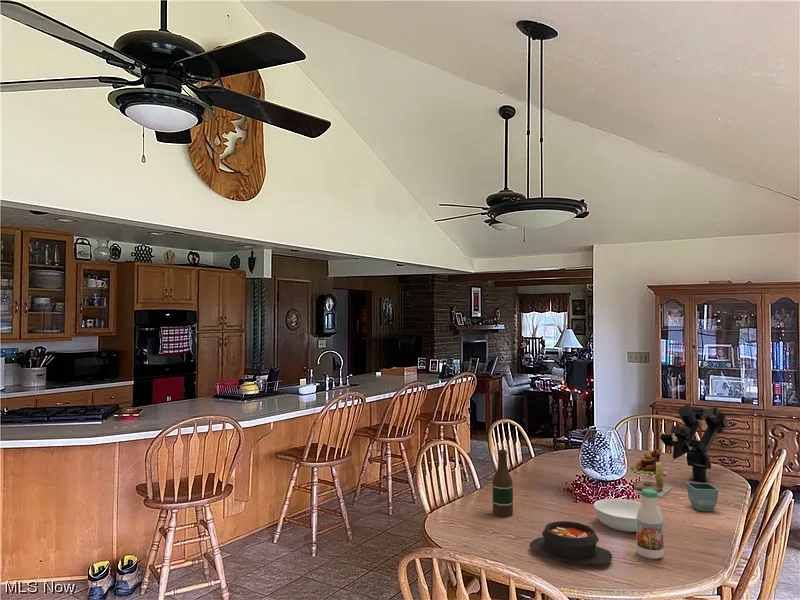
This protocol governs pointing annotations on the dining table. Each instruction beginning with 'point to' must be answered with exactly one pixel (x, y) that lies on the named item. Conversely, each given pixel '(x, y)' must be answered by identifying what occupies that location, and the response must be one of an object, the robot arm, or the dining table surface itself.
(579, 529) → the casserole
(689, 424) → the robot arm
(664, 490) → the stand
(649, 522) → the milk bottle
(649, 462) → the bear figurine
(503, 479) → the beer bottle
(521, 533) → the dining table surface
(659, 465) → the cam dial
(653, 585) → the dining table surface
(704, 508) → the flower pot
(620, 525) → the serving bowl
